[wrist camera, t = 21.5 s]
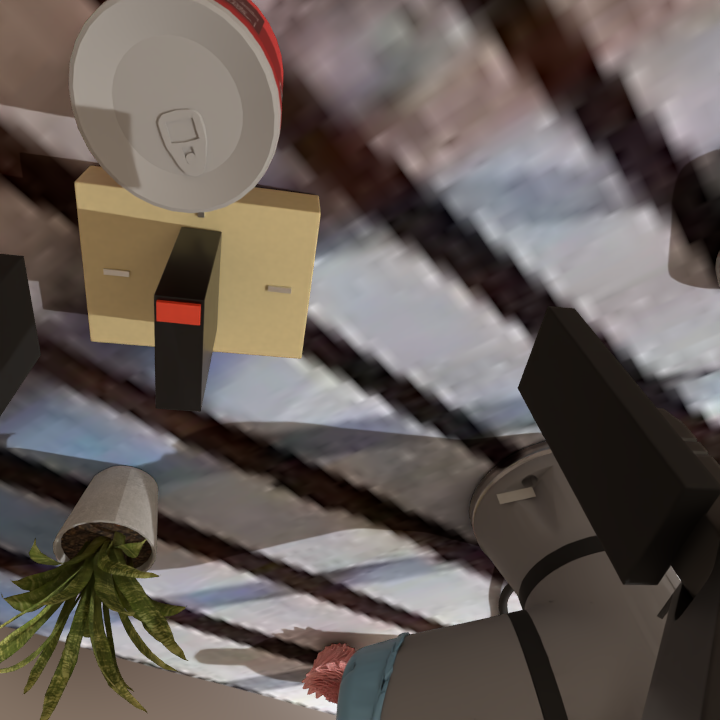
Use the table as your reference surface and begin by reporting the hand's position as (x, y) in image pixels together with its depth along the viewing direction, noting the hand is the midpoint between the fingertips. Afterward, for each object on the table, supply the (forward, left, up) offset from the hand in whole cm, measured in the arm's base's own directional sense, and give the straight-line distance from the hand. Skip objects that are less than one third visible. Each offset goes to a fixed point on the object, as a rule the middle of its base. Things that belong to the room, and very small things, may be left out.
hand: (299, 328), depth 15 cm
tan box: (-9, +5, -22) cm, 24 cm away
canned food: (+2, +5, -22) cm, 22 cm away
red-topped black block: (-9, +5, -19) cm, 21 cm away
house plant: (-31, +12, -22) cm, 39 cm away
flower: (-54, -10, -22) cm, 59 cm away
